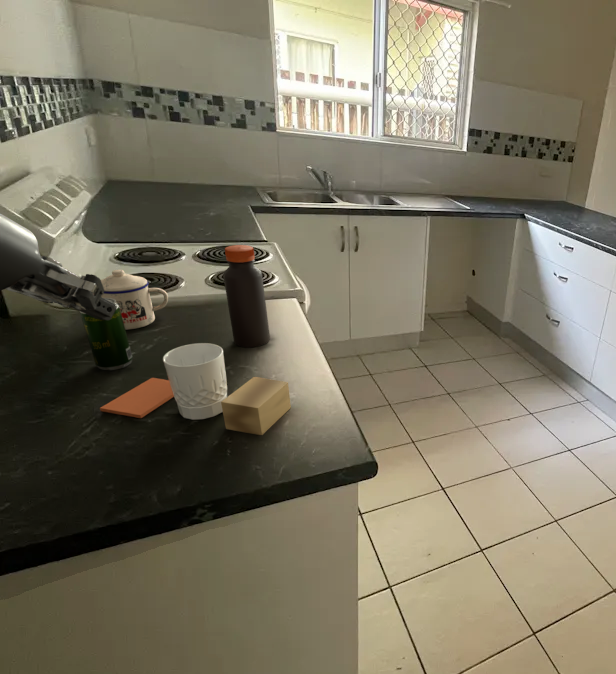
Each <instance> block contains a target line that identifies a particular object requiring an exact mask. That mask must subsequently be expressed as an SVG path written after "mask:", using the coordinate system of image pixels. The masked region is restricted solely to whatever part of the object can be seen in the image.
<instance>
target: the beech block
mask: <svg viewBox="0 0 616 674" xmlns="http://www.w3.org/2000/svg"><path fill="white" fill-rule="evenodd" d="M221 405H222V410H223V412H222V415H223V420H224V426H225V429H226V430H229V431H236V432H241V433H247V434H252V435H258V436H263V435H264V434H265V433H266V432H267V431H268V430H270V429H271V427H272V426H274V424H276V423H277V422H278V421H279V420H280V419H281V418H282V417H283V416H284V415H286V413H287V412H289V410H290V409H291V408H292V405H291V396H290V388H289V382H288V381H283V380H277V379H270V378H264V377H259V376H253V377H252V378H251V379H249V380H248V381H246V382H245V383H244V384H242V385H241V386H240V387H239V388H237V389H236V390H234V391H233V392H232V393H231V394H229V395H227V398H225V399H224V400H223V401H221Z"/></svg>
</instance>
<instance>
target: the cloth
mask: <svg viewBox="0 0 616 674" xmlns="http://www.w3.org/2000/svg"><path fill="white" fill-rule="evenodd" d="M173 398H175V397H174V394H173V391H172V389H171V385H170V382H169V379H163V378H156V377H151V378H149V379H147V380H146V381H144V382H142V383H140V384H139V385H137V386H135V387H134V388H132V389H130V390H129V391H126V392H125V393H123V394H121V395H120V396H118V397H116V398H115V399H112V400H111V401H109V402H107V403H106V404H104V405H102V406H101V407H99V410H100V412H104V413H109V414H115V415H120V416H125V417H126V416H127V417H132V418H138V419H142V418H145V417H146V416H147V415H148V414H150V413H151V412H153V411H154V410H156V409H158V408H159V407H160V406H162V405H163V404H165V403H167V402H168V401H170V400H171V399H173Z"/></svg>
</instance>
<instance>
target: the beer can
mask: <svg viewBox="0 0 616 674" xmlns="http://www.w3.org/2000/svg"><path fill="white" fill-rule="evenodd" d="M104 299H106V300H108V301H110V302H112V303H114V304H115V305H116V307H117V308H116V310H115V312H114V314H113V316H112V318H111V319H110V320H101V319H96V318H94V317H91V316H89V315H87V314H85V313H83V312H81V311H79V314H80V318H81V321H82V324H83V327H84V330H85V334H86V337H87V341H88V344H89V348H90V350H91V353H92V357H93V361H94V363H95V366H96V367H97V368H98V369H100V370H101V371H115V370H116V371H117V370H119V369H123V368H126V367H128V366H130V365H131V364H132V362H133V359H134V357H133V353H132V349H131V345H130V342H129V339H128V335H127V330H125V327H124V323H123V319H122V315H121V311H120V308H119V305H118V304H117V303H116V300H115V299H111V298H104Z"/></svg>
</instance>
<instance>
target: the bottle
mask: <svg viewBox="0 0 616 674" xmlns="http://www.w3.org/2000/svg"><path fill="white" fill-rule="evenodd" d="M224 253H225V254H224V255H225V260H226V263H228V267H227V268H226V269H225V270H224V272H223V274H222V277H223V282H224V288H225V294H226V300H227V308H228V313H229V319H230V326H231V332H232V337H233V338H232V339H233V343H234V344H235V345H236V346H239V347H242V348H255V347H260V346H264V345H265V344H268V343H269V341H270V340H271V334H270V327H269V325H270V324H269V318H268V311H267V302H266V295H265V287H264V280H263V279H264V278H263V272H262V270H261V269H259V268H258V267H257V266H256V265H255V264H254V262H256V260H255V250H254V247H253V246H251V245H247V244H246V245H245V244H234V245H229V246H226V247H224Z"/></svg>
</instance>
